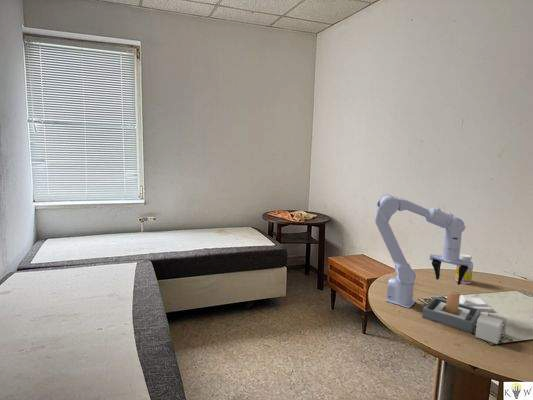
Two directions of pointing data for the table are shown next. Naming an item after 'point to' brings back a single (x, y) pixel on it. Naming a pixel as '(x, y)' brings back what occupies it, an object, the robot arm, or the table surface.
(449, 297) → the brown cylindrical peg
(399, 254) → the robot arm
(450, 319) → the walled box
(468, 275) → the supplement bottle
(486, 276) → the table surface
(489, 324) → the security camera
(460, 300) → the light switch
